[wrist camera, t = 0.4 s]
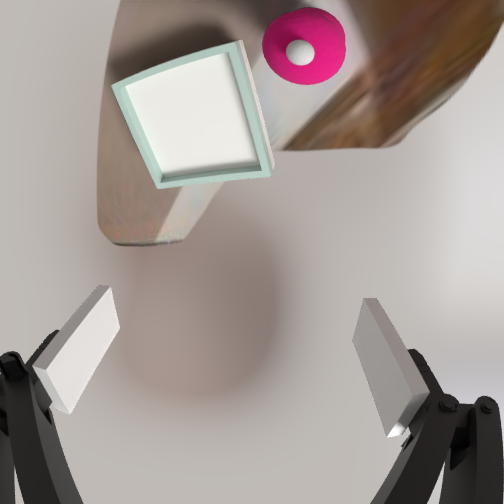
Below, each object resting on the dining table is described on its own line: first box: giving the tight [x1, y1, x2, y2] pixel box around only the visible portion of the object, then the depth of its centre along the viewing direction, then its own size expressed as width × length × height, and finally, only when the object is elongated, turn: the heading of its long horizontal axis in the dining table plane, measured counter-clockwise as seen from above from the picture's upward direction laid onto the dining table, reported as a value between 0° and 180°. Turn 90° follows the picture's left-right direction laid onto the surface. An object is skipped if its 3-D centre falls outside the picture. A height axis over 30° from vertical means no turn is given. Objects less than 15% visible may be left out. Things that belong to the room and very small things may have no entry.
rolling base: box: [111, 40, 275, 189], centre depth 37 cm, size 18×18×6 cm
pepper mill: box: [262, 7, 346, 85], centre depth 21 cm, size 7×7×20 cm
